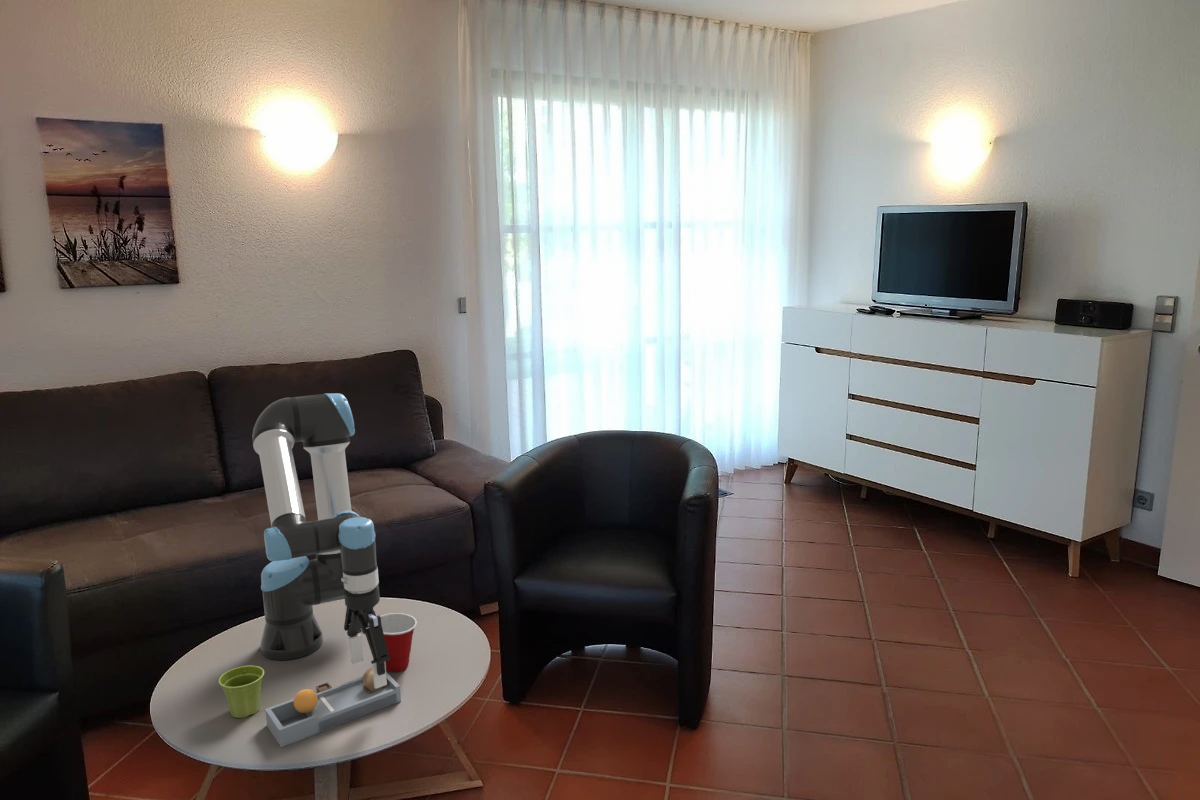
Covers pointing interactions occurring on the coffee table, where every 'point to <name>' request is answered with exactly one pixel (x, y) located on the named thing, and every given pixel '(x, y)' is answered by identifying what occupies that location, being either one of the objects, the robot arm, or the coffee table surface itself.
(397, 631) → the plastic cup
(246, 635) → the coffee table surface
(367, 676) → the block
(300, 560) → the robot arm
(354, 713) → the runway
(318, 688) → the small wooden crate
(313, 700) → the ball
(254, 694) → the plant pot
